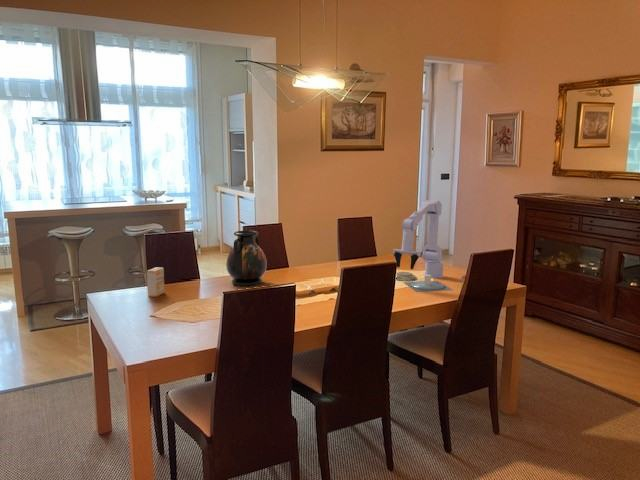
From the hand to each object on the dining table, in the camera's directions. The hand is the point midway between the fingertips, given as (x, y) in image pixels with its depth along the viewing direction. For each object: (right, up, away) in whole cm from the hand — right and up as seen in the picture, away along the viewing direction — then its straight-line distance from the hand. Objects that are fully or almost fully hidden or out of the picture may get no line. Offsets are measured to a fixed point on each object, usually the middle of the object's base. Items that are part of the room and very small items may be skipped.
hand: (404, 268), depth 266 cm
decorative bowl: (+3, -8, +21) cm, 23 cm away
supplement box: (-125, -13, -13) cm, 126 cm away
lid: (+12, -10, +4) cm, 16 cm away
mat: (+12, -10, +4) cm, 16 cm away
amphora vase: (-83, -9, +10) cm, 84 cm away
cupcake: (+34, -11, +3) cm, 36 cm away
